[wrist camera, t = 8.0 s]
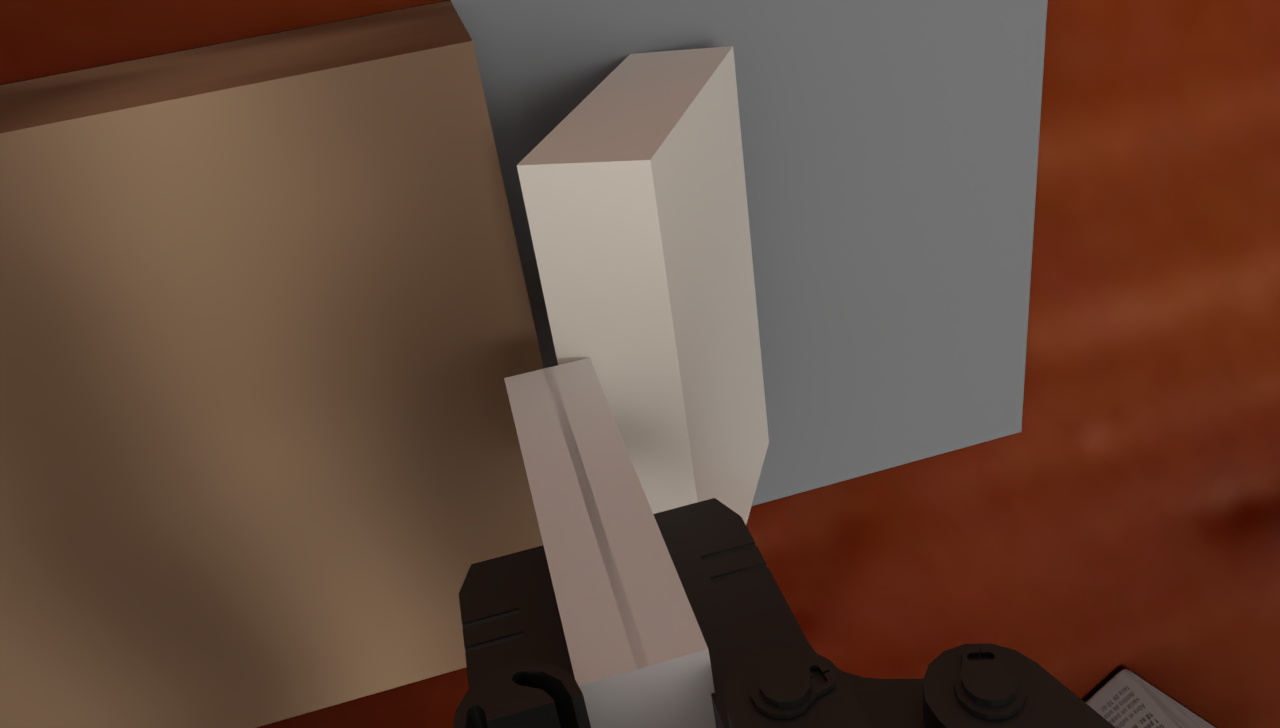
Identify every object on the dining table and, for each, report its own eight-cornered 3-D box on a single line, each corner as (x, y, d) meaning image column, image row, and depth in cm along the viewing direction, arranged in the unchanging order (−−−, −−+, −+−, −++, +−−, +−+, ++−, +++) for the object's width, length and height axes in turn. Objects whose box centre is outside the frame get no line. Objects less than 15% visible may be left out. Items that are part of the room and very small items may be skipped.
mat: (572, 547, 25) (575, 554, 25) (437, -59, 18) (438, -57, 18) (1014, 425, 27) (1021, 431, 26) (1048, -169, 20) (1058, -170, 19)
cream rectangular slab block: (611, 623, 19) (715, 633, 18) (516, 165, 14) (650, 159, 14) (684, 438, 24) (769, 442, 23) (630, 53, 19) (733, 46, 19)
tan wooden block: (-147, 706, 22) (-238, 869, 19) (-545, 188, 16) (-788, 287, 13) (565, 515, 24) (600, 628, 21) (450, -1, 18) (472, 41, 15)
